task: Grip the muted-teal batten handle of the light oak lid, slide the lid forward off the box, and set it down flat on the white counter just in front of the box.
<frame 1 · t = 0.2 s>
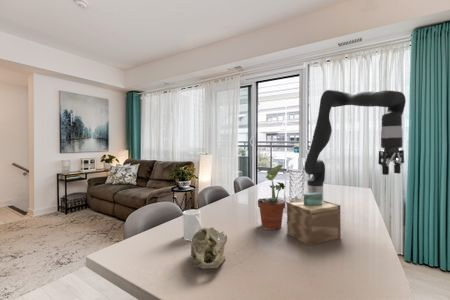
hand: (391, 173, 97), 29 cm above the table, fingers open, 8 cm apart
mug: (193, 238, 102), on the table
potted plant: (271, 226, 117), on the table
skull: (208, 261, 81), on the table
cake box: (313, 235, 103), on the table
lid: (312, 206, 103), point 13 cm above the table, touching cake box
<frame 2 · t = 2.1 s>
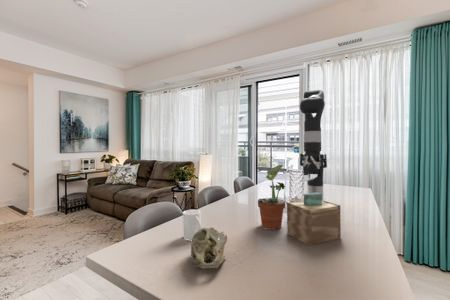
hand: (312, 176, 102), 28 cm above the table, fingers open, 8 cm apart
nothing on the table moved.
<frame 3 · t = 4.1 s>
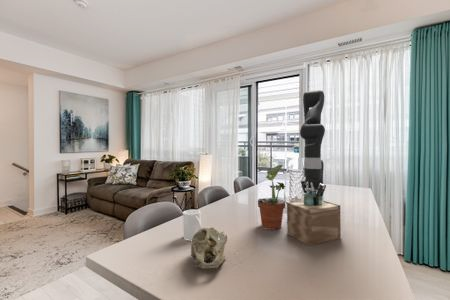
hand: (312, 204, 103), 15 cm above the table, fingers closed on lid, 3 cm apart
lid: (312, 206, 103), point 13 cm above the table, touching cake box, gripper
everything else where it was.
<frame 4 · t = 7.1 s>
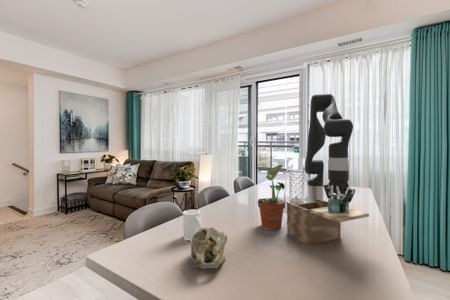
hand: (338, 211, 89), 15 cm above the table, fingers closed on lid, 3 cm apart
lid: (338, 214, 89), point 14 cm above the table, touching gripper
everything else where it was.
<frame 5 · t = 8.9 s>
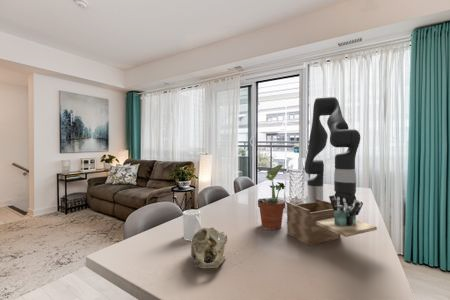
hand: (345, 223, 87), 11 cm above the table, fingers closed on lid, 3 cm apart
lid: (345, 226, 87), point 10 cm above the table, touching gripper
everything else where it was.
when the fingers open (2 cm above the table, at t = 10.1 s): lid drops 1 cm, on the table.
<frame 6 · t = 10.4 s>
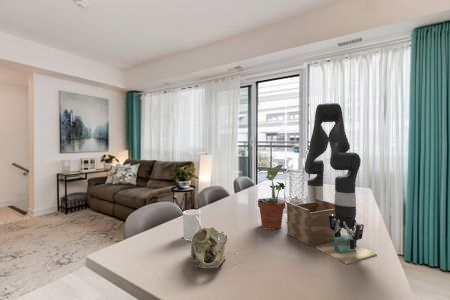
hand: (345, 245, 87), 3 cm above the table, fingers open, 6 cm apart
lid: (345, 253, 87), on the table
everything else where it was.
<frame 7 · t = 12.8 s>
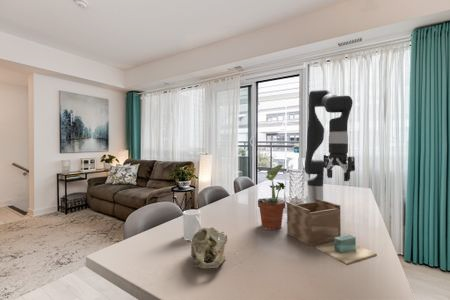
hand: (337, 179, 96), 27 cm above the table, fingers open, 8 cm apart
nothing on the table moved.
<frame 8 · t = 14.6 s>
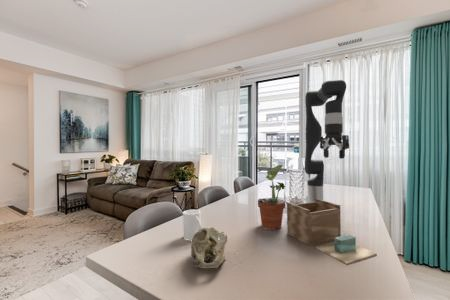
hand: (333, 158, 103), 36 cm above the table, fingers open, 8 cm apart
nothing on the table moved.
at the end: lid inside the target area (1.2 cm from its centre), on the table; lid tilted 0°; lid touching table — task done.
